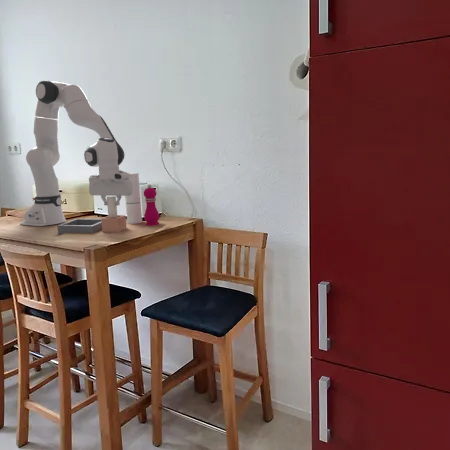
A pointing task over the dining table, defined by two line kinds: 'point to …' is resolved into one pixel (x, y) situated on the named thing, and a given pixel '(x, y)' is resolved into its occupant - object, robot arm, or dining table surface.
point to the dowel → (112, 207)
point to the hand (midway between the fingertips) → (112, 205)
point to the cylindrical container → (134, 201)
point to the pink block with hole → (113, 223)
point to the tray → (80, 226)
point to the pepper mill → (151, 207)
